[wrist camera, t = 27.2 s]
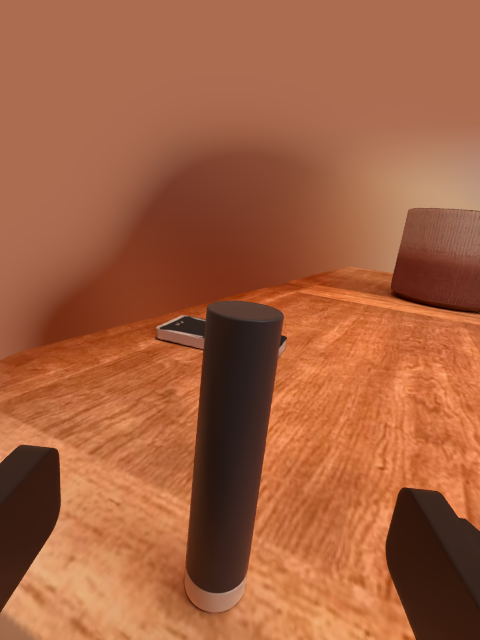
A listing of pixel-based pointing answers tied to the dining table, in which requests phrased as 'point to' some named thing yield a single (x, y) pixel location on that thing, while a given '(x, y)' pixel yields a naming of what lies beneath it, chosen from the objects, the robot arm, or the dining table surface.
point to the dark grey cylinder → (230, 448)
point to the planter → (440, 259)
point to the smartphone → (191, 332)
